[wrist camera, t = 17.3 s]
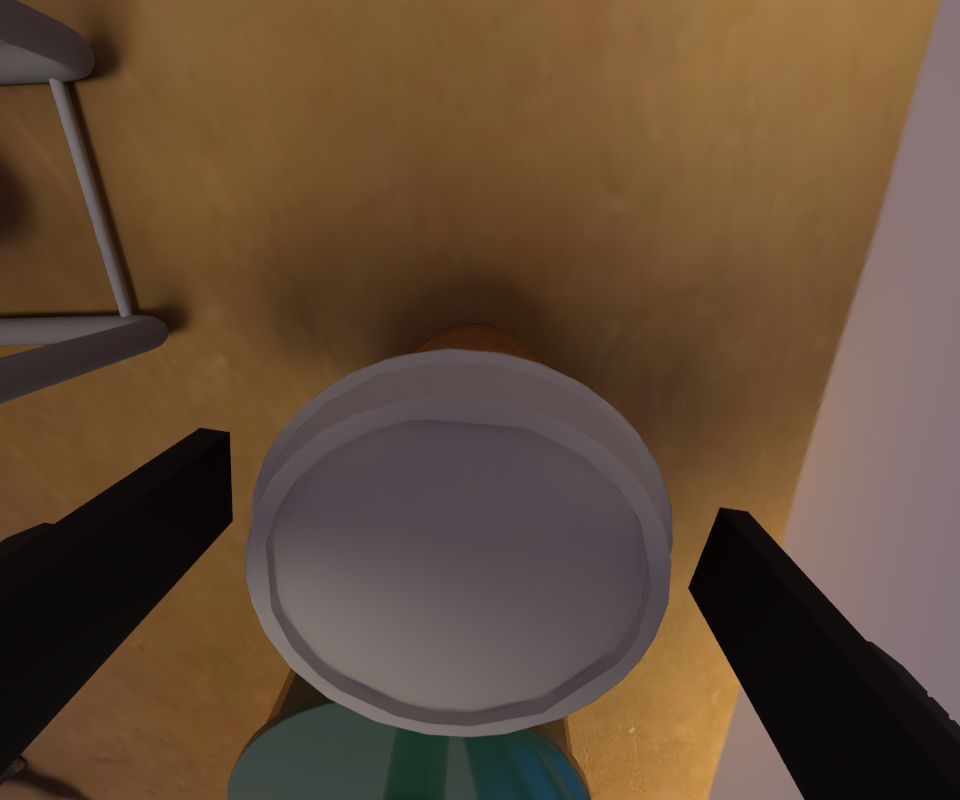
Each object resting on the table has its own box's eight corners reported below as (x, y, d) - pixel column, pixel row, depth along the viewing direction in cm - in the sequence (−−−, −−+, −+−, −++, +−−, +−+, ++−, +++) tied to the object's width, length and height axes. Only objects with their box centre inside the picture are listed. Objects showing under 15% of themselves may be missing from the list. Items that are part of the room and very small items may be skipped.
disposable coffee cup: (409, 505, 23) (330, 778, 11) (336, 320, 19) (127, 446, 8) (600, 459, 22) (720, 712, 10) (555, 256, 18) (659, 300, 7)
